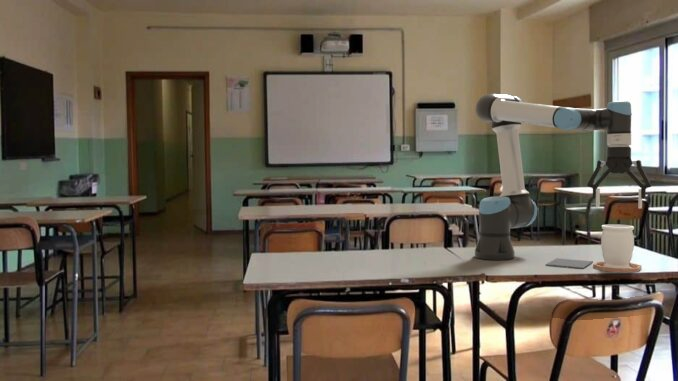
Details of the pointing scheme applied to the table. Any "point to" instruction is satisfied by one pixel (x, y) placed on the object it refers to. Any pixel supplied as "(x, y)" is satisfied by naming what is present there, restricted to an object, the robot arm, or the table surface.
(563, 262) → the mat
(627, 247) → the jar
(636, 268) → the brown wooden ring
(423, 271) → the table surface
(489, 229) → the robot arm
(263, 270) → the table surface
